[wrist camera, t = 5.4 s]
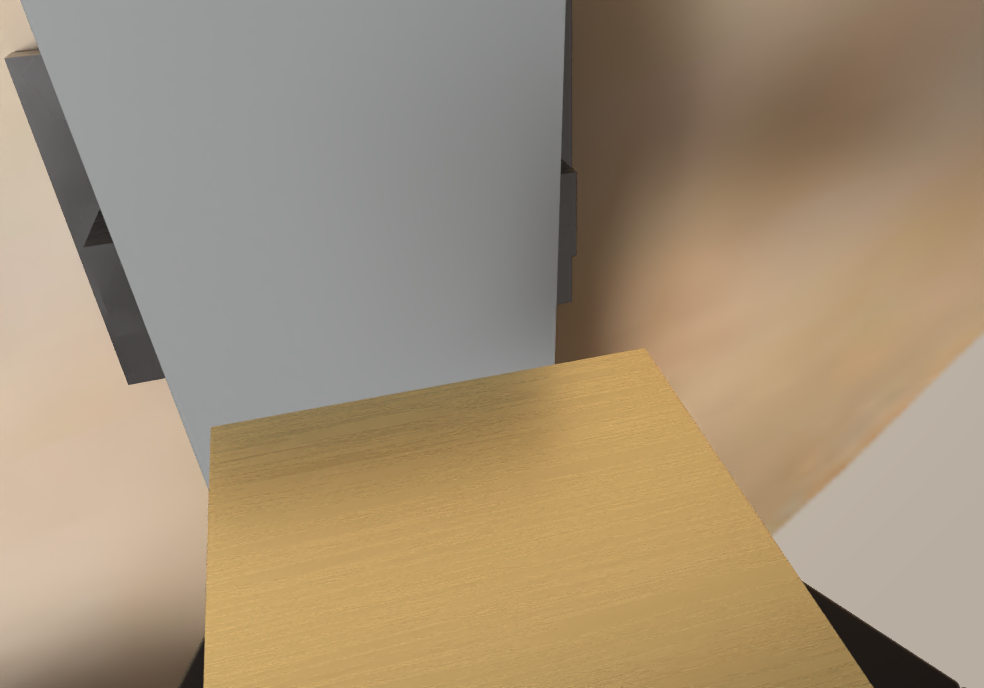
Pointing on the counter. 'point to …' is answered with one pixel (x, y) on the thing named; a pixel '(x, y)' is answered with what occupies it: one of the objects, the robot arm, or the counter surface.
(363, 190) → the beam
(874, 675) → the robot arm
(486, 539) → the golden cube
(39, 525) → the counter surface
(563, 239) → the pivot stand
